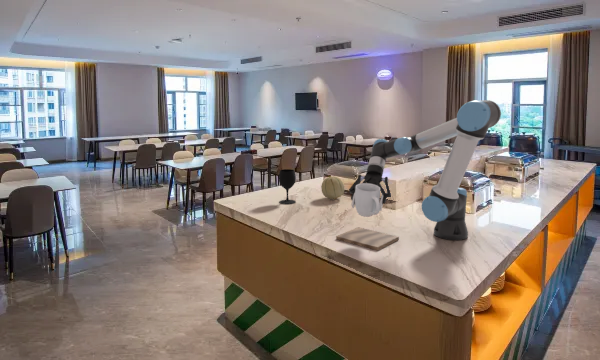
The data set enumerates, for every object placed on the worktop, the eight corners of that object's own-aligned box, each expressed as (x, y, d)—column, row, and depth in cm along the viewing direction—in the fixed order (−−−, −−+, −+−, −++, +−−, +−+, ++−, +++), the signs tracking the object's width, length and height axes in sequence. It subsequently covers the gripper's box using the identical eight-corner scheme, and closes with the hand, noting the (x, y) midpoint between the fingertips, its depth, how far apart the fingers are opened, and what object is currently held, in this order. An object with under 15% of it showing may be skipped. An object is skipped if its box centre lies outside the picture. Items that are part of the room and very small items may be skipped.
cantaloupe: (343, 202, 261) (343, 178, 258) (319, 201, 264) (319, 177, 261) (345, 196, 275) (345, 174, 272) (323, 195, 278) (323, 173, 275)
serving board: (398, 239, 193) (398, 236, 193) (377, 250, 180) (377, 247, 180) (358, 230, 208) (358, 227, 207) (336, 239, 194) (336, 236, 194)
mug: (387, 220, 187) (390, 192, 183) (366, 224, 183) (369, 196, 179) (368, 207, 200) (371, 181, 196) (348, 211, 196) (350, 184, 191)
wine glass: (276, 203, 258) (276, 171, 254) (282, 199, 268) (281, 168, 264) (292, 204, 255) (292, 172, 252) (298, 200, 265) (297, 169, 261)
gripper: (402, 174, 197) (394, 215, 187) (352, 171, 207) (342, 209, 196) (400, 165, 192) (392, 206, 181) (349, 162, 201) (338, 200, 190)
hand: (366, 207), depth 189 cm, fingers closed on mug, 12 cm apart
